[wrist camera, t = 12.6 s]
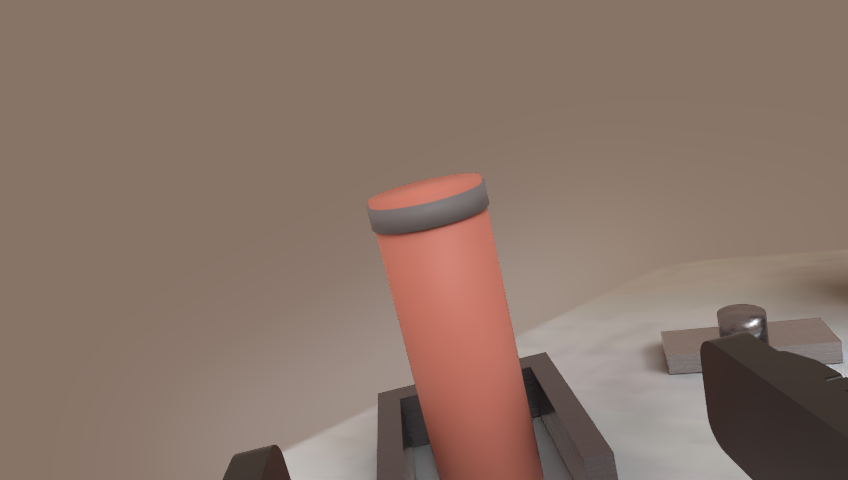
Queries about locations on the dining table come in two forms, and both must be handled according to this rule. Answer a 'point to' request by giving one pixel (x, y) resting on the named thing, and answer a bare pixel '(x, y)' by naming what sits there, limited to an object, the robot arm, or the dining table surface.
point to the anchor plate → (782, 335)
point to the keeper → (546, 399)
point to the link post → (457, 327)
